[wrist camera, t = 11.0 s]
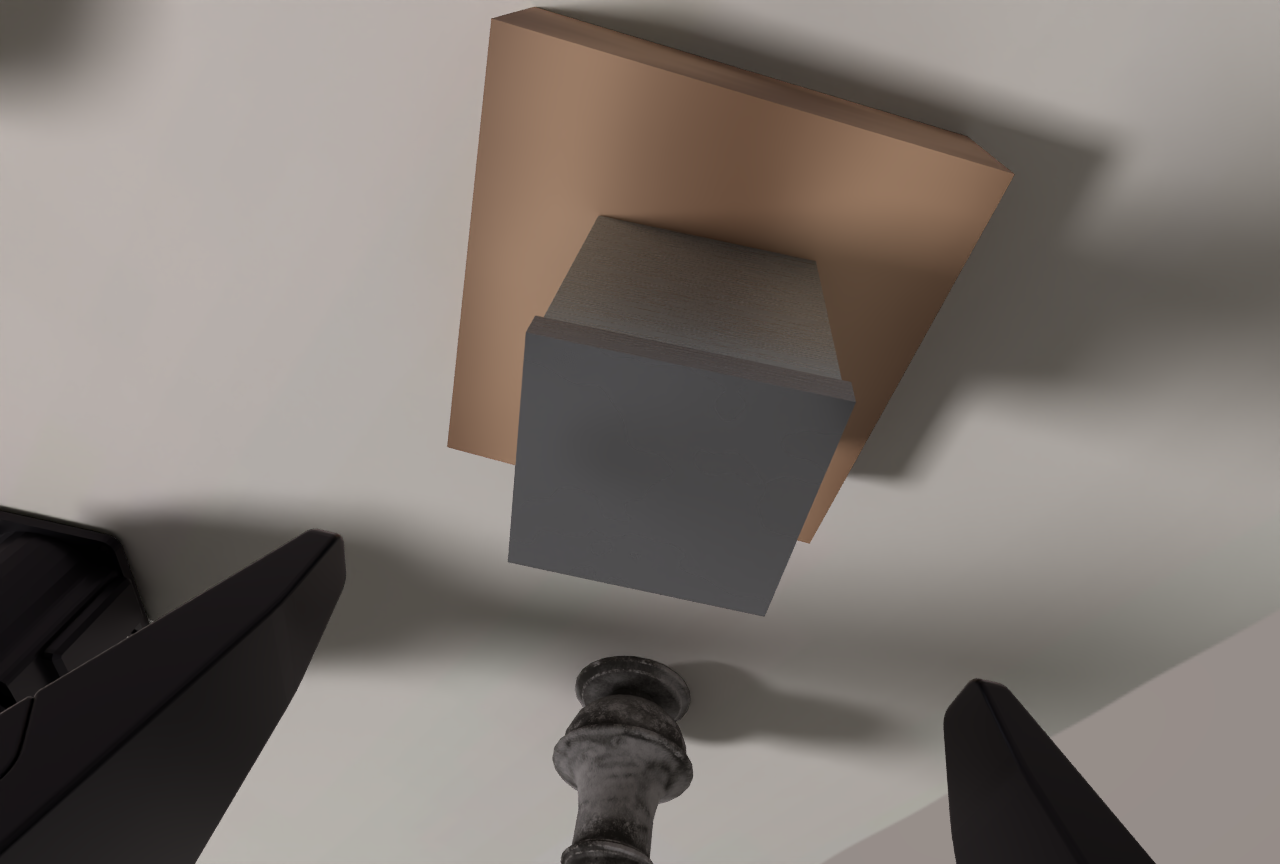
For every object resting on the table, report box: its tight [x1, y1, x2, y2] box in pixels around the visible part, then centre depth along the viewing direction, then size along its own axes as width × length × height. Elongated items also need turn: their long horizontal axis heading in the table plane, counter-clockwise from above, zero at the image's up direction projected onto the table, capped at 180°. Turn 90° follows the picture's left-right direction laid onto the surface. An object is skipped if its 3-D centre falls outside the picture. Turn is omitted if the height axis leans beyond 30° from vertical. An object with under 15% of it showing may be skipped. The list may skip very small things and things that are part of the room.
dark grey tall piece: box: [553, 656, 693, 864], centre depth 27 cm, size 6×6×12 cm
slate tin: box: [508, 216, 856, 616], centre depth 15 cm, size 5×5×6 cm
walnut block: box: [447, 7, 1015, 544], centre depth 19 cm, size 11×11×4 cm
